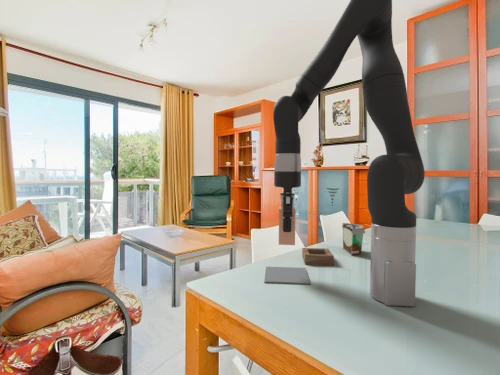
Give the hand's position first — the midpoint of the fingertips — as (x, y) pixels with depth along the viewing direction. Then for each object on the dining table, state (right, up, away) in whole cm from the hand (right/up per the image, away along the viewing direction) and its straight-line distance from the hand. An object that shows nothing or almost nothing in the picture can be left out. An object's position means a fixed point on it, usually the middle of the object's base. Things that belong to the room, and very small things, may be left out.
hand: (286, 229), depth 77 cm
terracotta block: (0, -4, 0) cm, 4 cm away
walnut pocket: (+12, -13, +14) cm, 22 cm away
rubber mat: (0, -13, 0) cm, 13 cm away
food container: (+29, -13, +24) cm, 40 cm away
